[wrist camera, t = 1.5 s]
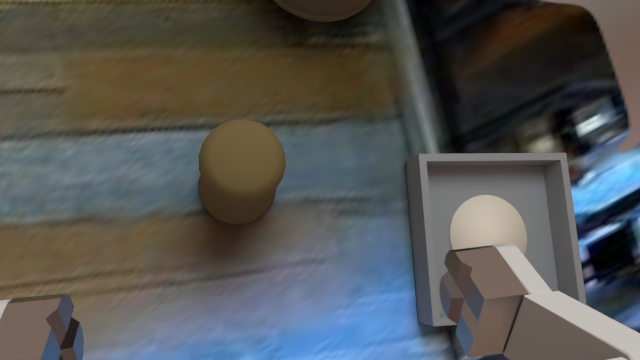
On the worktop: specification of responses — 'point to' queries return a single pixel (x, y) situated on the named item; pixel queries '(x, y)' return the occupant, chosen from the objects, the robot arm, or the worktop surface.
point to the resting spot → (487, 224)
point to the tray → (504, 182)
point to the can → (323, 8)
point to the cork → (240, 171)
